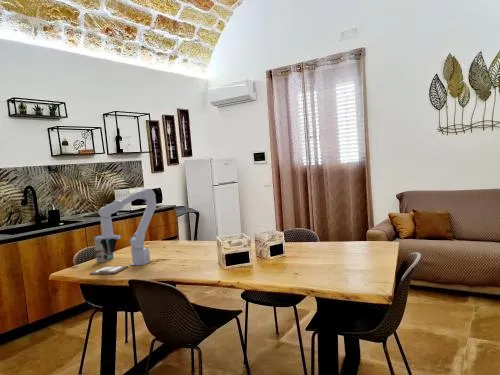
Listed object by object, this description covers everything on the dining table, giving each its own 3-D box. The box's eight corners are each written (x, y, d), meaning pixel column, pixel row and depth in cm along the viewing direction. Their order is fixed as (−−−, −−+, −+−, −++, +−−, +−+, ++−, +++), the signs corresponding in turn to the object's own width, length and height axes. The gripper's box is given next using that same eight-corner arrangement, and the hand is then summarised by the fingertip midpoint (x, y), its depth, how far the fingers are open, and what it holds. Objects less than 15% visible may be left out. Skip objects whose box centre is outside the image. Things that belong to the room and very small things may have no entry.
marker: (114, 256, 210) (112, 239, 209) (111, 257, 207) (109, 240, 206) (110, 256, 210) (107, 239, 210) (106, 258, 208) (104, 240, 207)
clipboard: (128, 267, 211) (127, 264, 210) (115, 274, 199) (115, 270, 199) (103, 267, 215) (103, 264, 214) (90, 274, 203) (89, 271, 203)
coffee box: (105, 261, 229) (102, 236, 227) (96, 262, 230) (93, 236, 229) (114, 257, 238) (110, 232, 236) (105, 258, 239) (101, 233, 238)
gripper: (91, 230, 205) (94, 254, 207) (114, 229, 202) (117, 253, 203) (99, 227, 212) (102, 251, 213) (121, 226, 208) (124, 250, 209)
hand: (110, 252), depth 208 cm, fingers closed on marker, 3 cm apart
